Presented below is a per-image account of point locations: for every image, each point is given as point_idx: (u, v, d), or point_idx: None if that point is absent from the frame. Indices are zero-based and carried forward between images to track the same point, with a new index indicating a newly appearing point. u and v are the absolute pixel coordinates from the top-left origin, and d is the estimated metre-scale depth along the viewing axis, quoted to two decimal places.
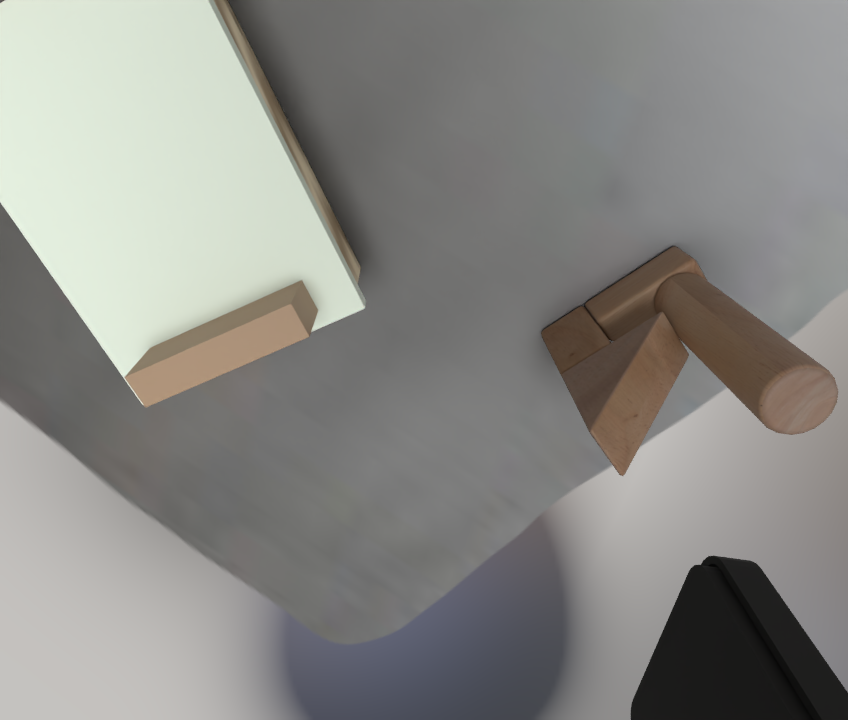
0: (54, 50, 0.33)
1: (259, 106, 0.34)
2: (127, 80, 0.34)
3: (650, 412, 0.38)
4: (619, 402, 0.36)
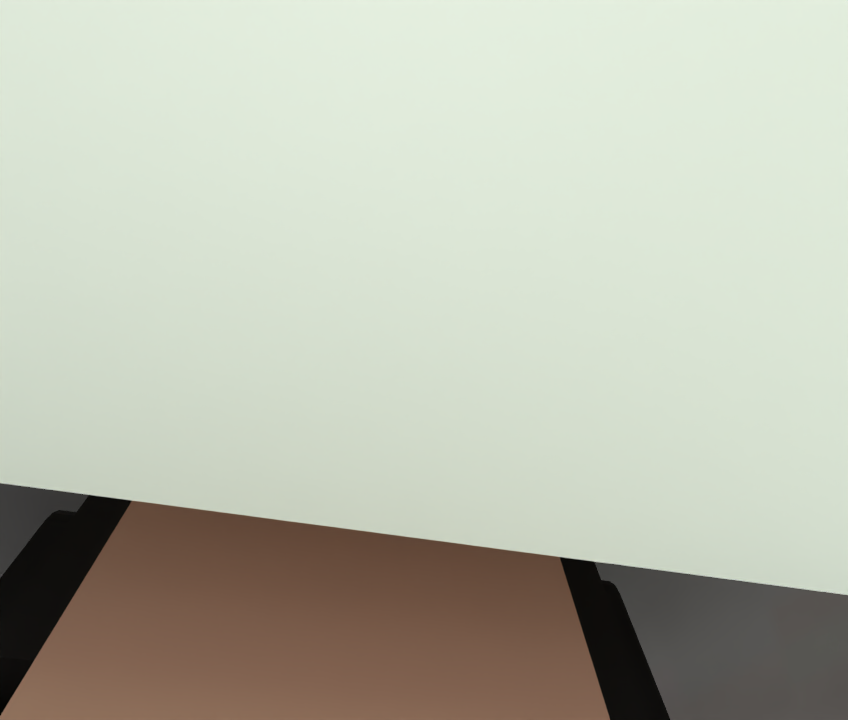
0: (516, 146, 0.04)
1: None
2: None
3: None
4: None
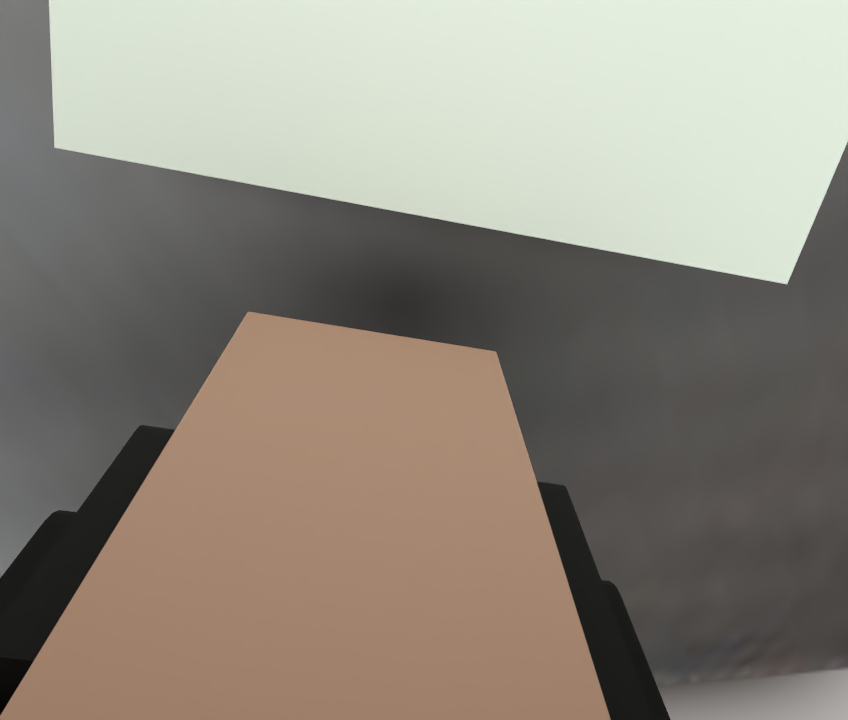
0: (487, 79, 0.13)
1: None
2: None
3: None
4: None
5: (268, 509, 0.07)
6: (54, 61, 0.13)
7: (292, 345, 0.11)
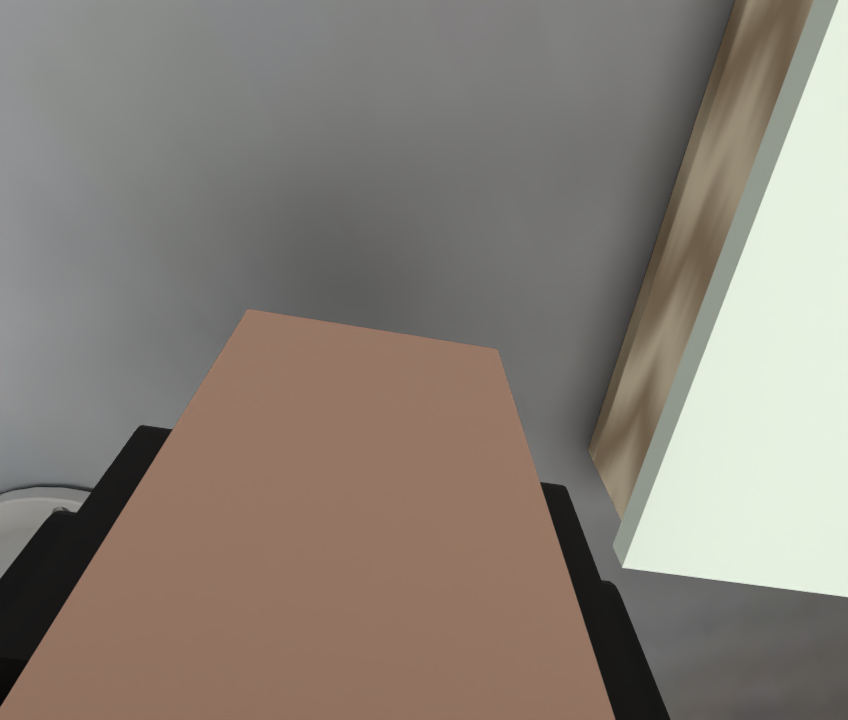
0: None
1: (711, 341, 0.21)
2: (822, 466, 0.23)
3: None
4: None
5: (267, 506, 0.07)
6: (633, 531, 0.24)
7: (292, 343, 0.11)
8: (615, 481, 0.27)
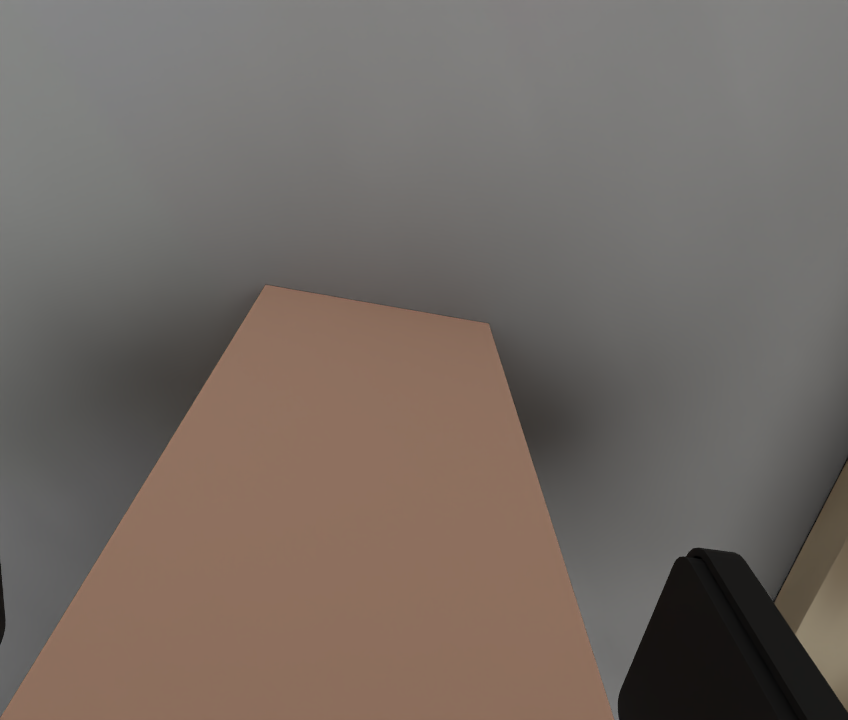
0: None
1: None
2: None
3: None
4: None
5: (291, 436, 0.08)
6: None
7: (306, 313, 0.12)
8: None
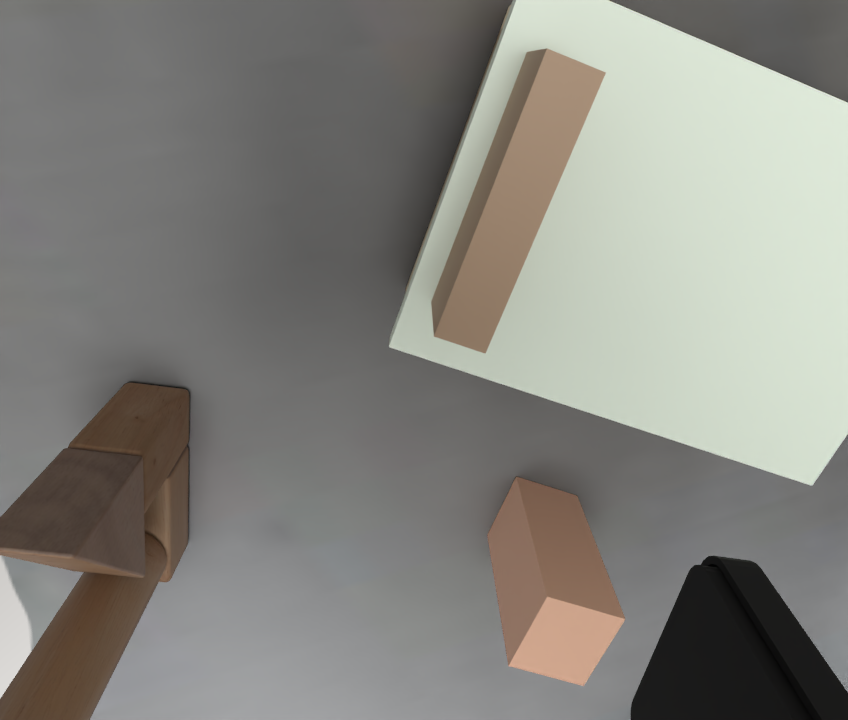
0: None
1: (641, 427, 0.30)
2: (776, 348, 0.29)
3: (38, 561, 0.28)
4: (81, 564, 0.27)
5: (507, 579, 0.36)
6: (782, 474, 0.32)
7: (495, 534, 0.40)
8: None
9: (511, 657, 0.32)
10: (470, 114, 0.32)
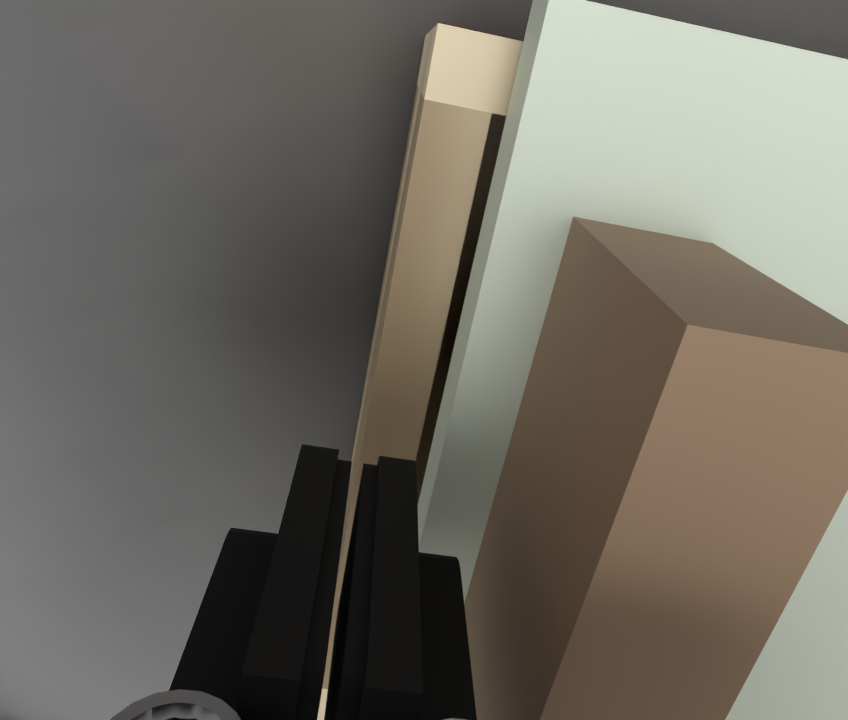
0: None
1: None
2: None
3: None
4: None
5: None
6: None
7: None
8: None
9: None
10: (387, 254, 0.16)
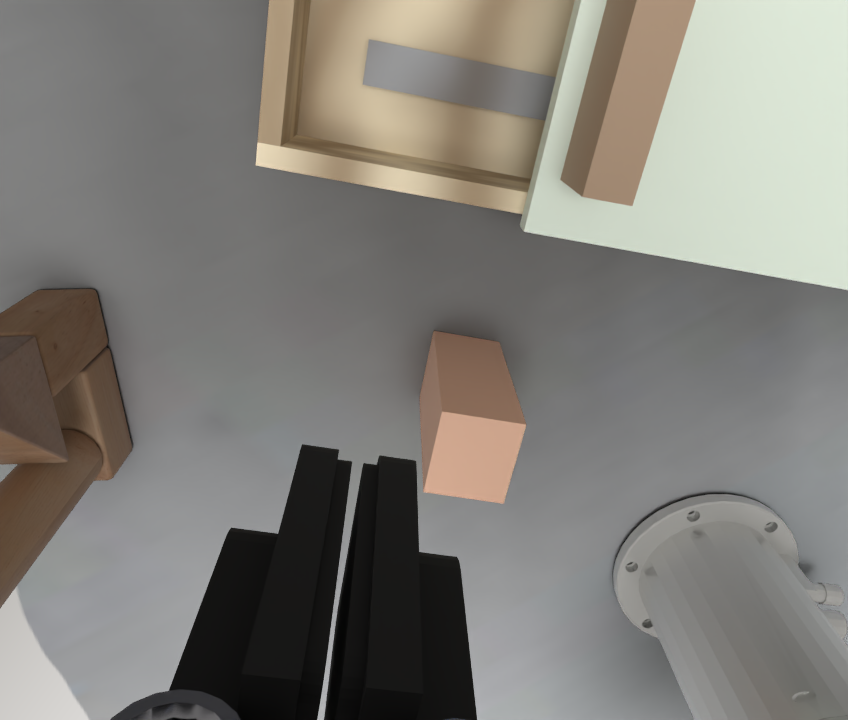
0: None
1: (774, 274, 0.31)
2: None
3: None
4: None
5: (426, 421, 0.36)
6: None
7: (422, 392, 0.40)
8: None
9: (424, 483, 0.33)
10: None
